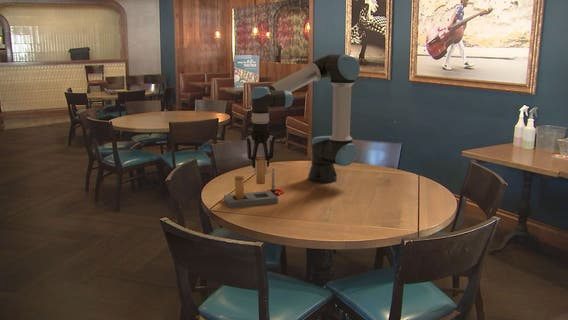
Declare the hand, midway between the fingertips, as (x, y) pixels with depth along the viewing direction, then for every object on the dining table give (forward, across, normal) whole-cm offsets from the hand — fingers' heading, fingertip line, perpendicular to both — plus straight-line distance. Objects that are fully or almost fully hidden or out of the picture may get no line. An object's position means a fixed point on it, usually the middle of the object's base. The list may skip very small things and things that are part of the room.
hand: (260, 174), depth 219 cm
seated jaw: (+13, +10, 0) cm, 16 cm away
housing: (+13, +4, 0) cm, 13 cm away
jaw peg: (+4, 0, 0) cm, 4 cm away
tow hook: (+13, -10, -10) cm, 19 cm away
